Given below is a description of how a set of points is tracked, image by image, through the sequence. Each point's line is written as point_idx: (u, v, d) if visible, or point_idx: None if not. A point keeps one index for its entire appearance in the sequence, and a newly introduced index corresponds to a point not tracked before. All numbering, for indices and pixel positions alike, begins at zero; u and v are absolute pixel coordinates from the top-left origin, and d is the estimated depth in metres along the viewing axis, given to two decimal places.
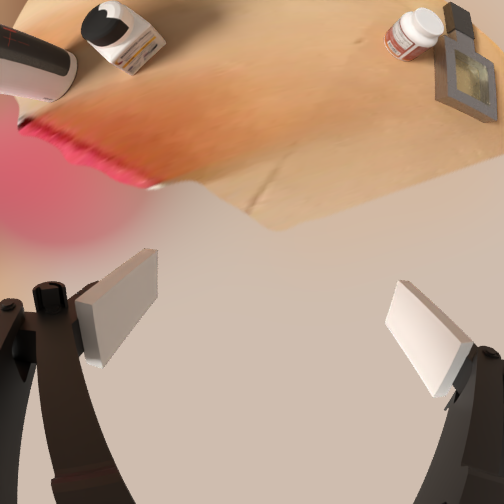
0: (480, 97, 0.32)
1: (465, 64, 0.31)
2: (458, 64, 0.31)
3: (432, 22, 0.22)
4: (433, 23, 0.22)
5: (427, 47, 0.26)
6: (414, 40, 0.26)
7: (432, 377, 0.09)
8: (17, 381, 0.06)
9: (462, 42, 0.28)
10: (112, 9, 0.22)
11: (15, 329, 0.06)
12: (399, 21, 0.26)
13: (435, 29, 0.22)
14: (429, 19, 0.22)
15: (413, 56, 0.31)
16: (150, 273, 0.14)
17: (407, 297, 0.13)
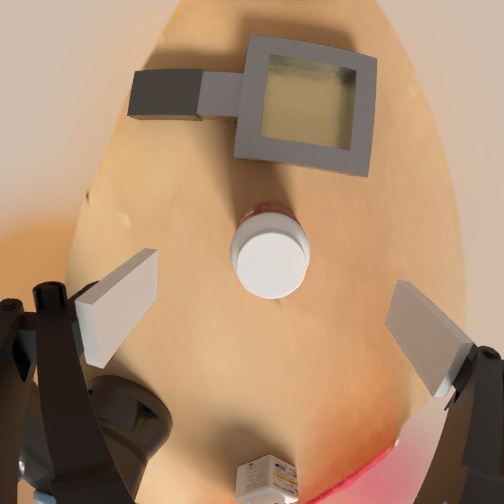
0: (327, 74, 0.24)
1: (268, 95, 0.25)
2: (275, 113, 0.25)
3: (274, 261, 0.19)
4: (276, 259, 0.19)
5: (307, 240, 0.22)
6: None
7: (432, 377, 0.09)
8: (17, 381, 0.06)
9: (225, 102, 0.24)
10: None
11: (15, 329, 0.06)
12: None
13: (291, 258, 0.19)
14: (268, 267, 0.19)
15: None
16: (150, 273, 0.14)
17: (407, 297, 0.13)
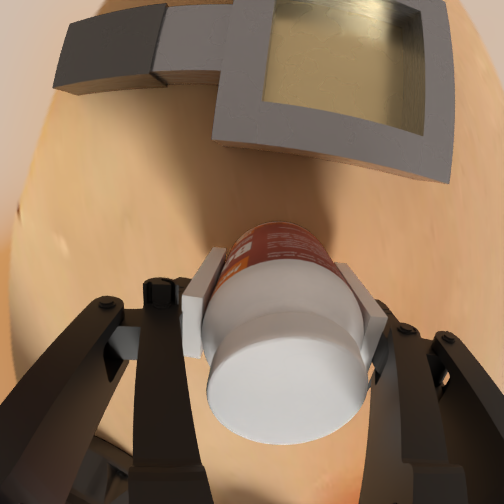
0: (370, 17, 0.12)
1: (277, 41, 0.13)
2: (289, 70, 0.13)
3: (295, 393, 0.07)
4: (300, 390, 0.07)
5: None
6: None
7: None
8: (103, 381, 0.07)
9: (201, 48, 0.12)
10: None
11: (111, 329, 0.08)
12: None
13: (337, 385, 0.07)
14: (281, 403, 0.07)
15: None
16: (222, 269, 0.15)
17: None
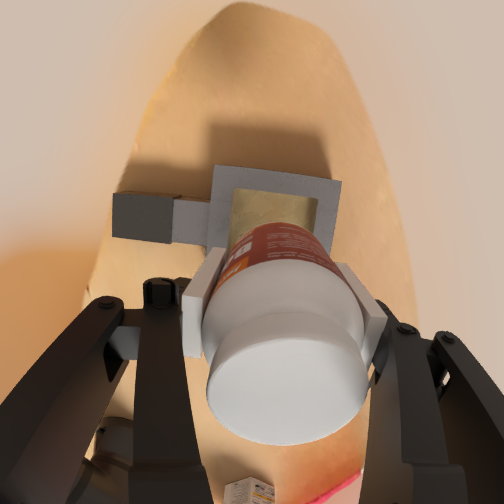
0: None
1: (235, 218, 0.30)
2: None
3: (296, 394, 0.07)
4: (301, 390, 0.07)
5: None
6: None
7: None
8: (103, 381, 0.07)
9: (195, 231, 0.29)
10: None
11: (111, 329, 0.08)
12: None
13: (338, 386, 0.07)
14: (281, 404, 0.07)
15: None
16: None
17: None
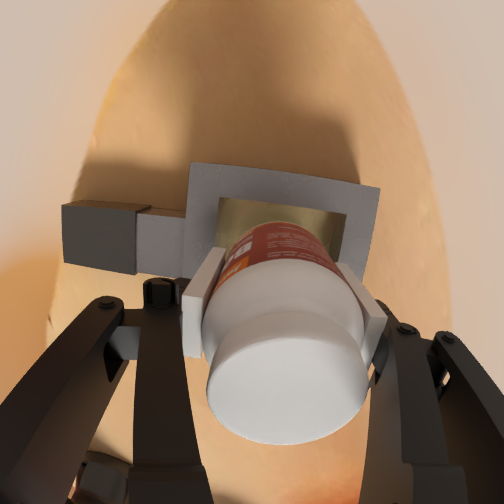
0: None
1: (225, 240, 0.21)
2: None
3: (296, 393, 0.07)
4: (301, 390, 0.07)
5: None
6: None
7: None
8: (103, 381, 0.07)
9: (167, 259, 0.20)
10: None
11: (111, 329, 0.08)
12: None
13: (338, 385, 0.07)
14: (281, 403, 0.07)
15: None
16: None
17: None
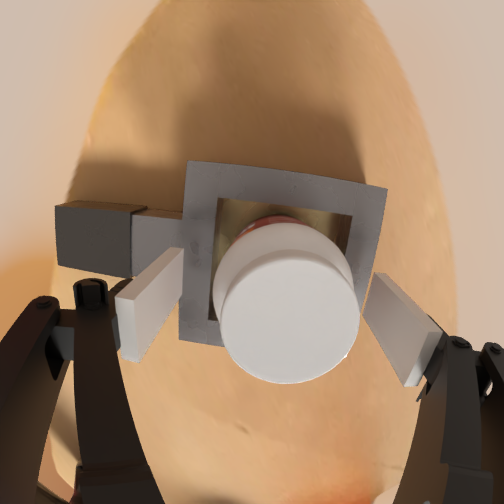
0: None
1: (224, 242, 0.20)
2: None
3: (297, 317, 0.09)
4: (301, 313, 0.09)
5: None
6: None
7: (403, 366, 0.10)
8: (48, 379, 0.06)
9: None
10: None
11: (49, 327, 0.07)
12: None
13: (333, 310, 0.09)
14: (285, 329, 0.09)
15: None
16: (177, 270, 0.14)
17: (381, 288, 0.14)
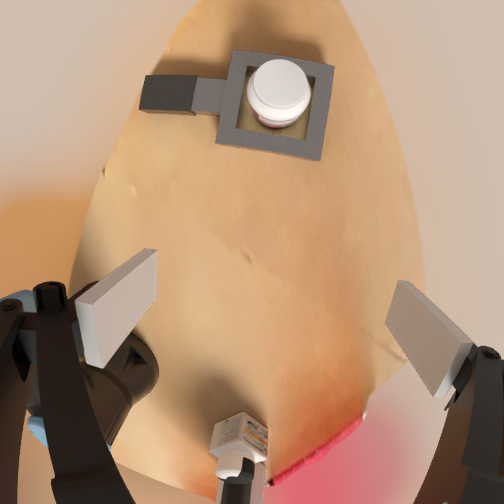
0: None
1: None
2: (251, 111, 0.32)
3: (282, 78, 0.21)
4: (283, 77, 0.21)
5: None
6: (306, 106, 0.25)
7: (432, 377, 0.09)
8: (17, 381, 0.06)
9: (212, 101, 0.31)
10: (230, 473, 0.36)
11: (15, 329, 0.06)
12: (270, 120, 0.26)
13: (295, 76, 0.21)
14: (277, 82, 0.21)
15: None
16: (150, 273, 0.14)
17: (407, 297, 0.13)
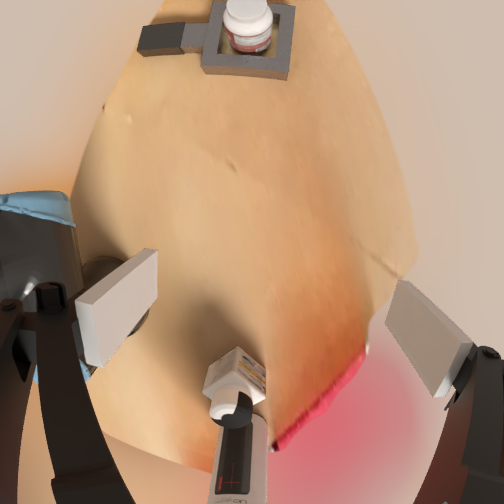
0: None
1: (226, 35, 0.34)
2: (229, 45, 0.34)
3: (247, 1, 0.23)
4: (249, 0, 0.23)
5: None
6: (270, 23, 0.27)
7: (432, 377, 0.09)
8: (17, 381, 0.06)
9: (197, 39, 0.33)
10: (225, 410, 0.38)
11: (15, 329, 0.06)
12: (243, 37, 0.28)
13: None
14: (244, 4, 0.23)
15: None
16: (150, 273, 0.14)
17: (407, 297, 0.13)
